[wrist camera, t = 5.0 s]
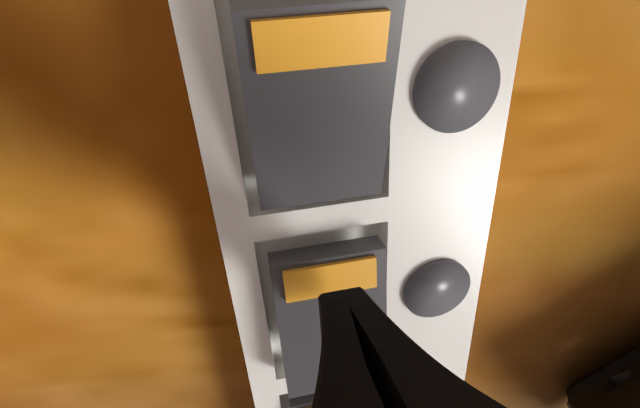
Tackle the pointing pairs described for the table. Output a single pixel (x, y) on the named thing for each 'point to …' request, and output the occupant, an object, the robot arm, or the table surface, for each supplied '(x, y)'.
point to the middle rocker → (307, 285)
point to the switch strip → (398, 181)
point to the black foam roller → (610, 385)
